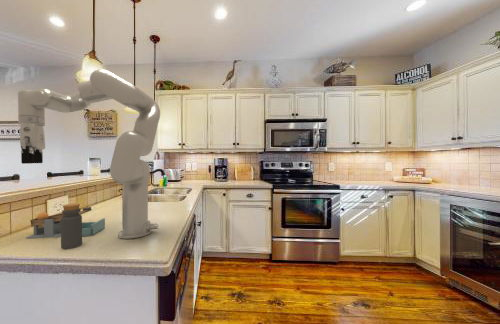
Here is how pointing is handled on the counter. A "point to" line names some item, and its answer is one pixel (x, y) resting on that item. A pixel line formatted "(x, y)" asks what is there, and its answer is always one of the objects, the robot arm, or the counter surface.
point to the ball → (42, 215)
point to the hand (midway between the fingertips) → (32, 163)
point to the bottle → (71, 226)
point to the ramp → (56, 218)
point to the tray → (92, 227)
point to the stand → (47, 230)
